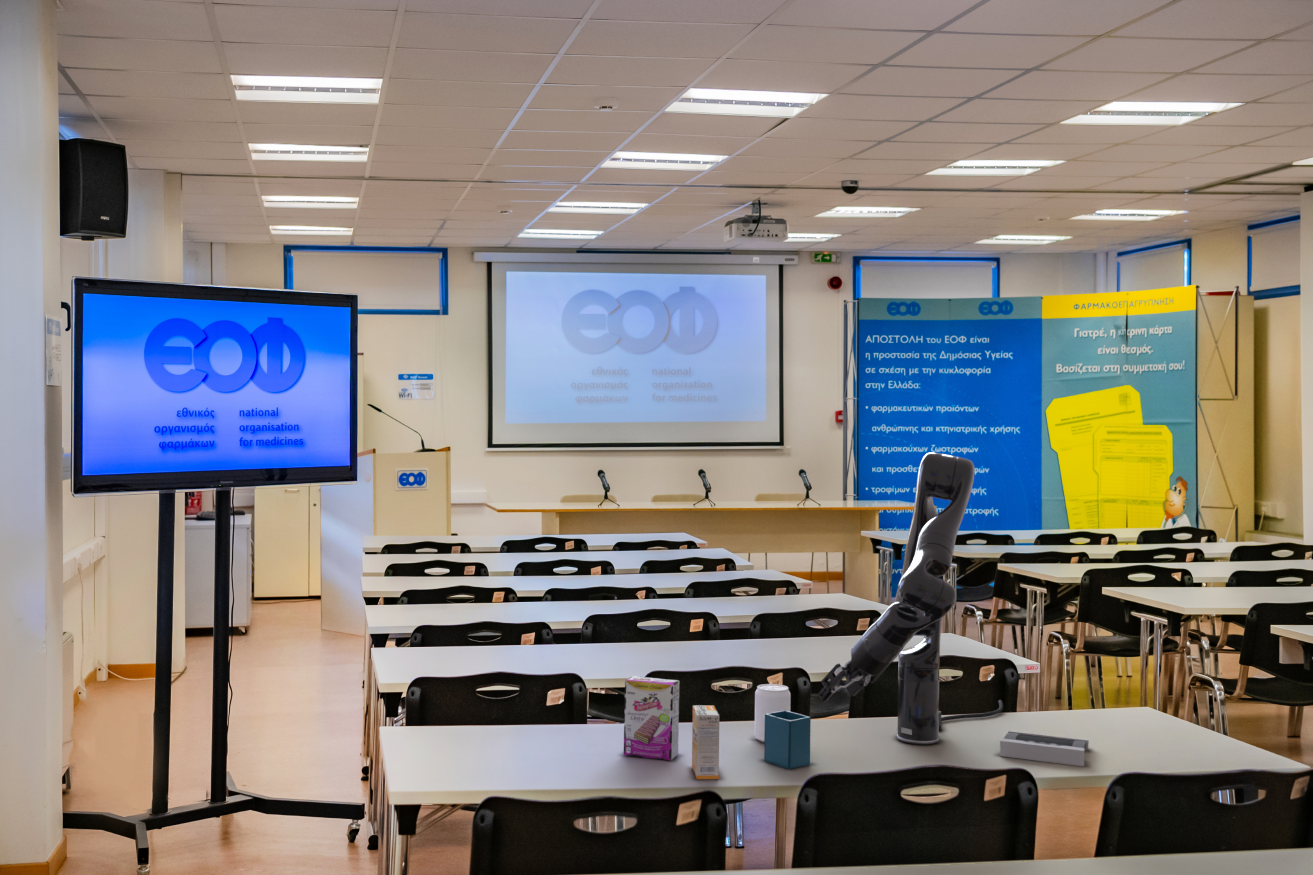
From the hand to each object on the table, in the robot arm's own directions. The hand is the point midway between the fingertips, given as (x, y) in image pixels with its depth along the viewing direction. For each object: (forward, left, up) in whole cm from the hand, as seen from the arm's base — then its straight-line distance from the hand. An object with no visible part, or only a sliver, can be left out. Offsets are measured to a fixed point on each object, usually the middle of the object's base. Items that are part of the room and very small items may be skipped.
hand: (835, 695), depth 223 cm
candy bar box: (+8, -39, -17) cm, 43 cm away
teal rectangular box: (-5, -16, -12) cm, 20 cm away
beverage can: (-19, -23, -17) cm, 34 cm away
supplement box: (+13, -23, -17) cm, 31 cm away
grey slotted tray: (-44, +32, -17) cm, 57 cm away
